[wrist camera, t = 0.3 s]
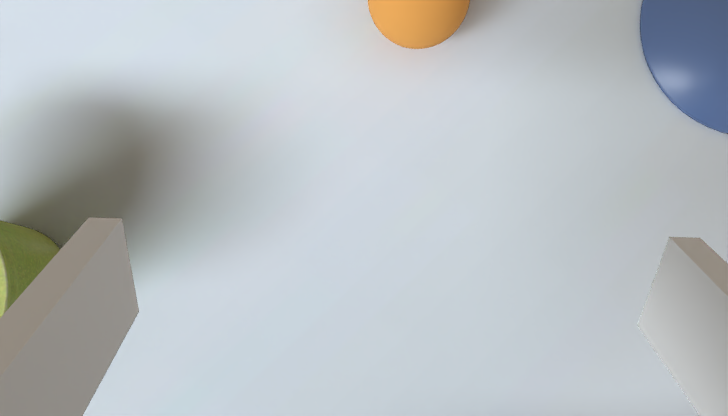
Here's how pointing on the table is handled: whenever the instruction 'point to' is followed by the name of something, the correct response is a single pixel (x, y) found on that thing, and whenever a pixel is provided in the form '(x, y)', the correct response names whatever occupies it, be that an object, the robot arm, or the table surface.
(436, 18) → the ball
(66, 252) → the robot arm
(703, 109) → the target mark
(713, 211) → the table surface
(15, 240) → the plant pot
